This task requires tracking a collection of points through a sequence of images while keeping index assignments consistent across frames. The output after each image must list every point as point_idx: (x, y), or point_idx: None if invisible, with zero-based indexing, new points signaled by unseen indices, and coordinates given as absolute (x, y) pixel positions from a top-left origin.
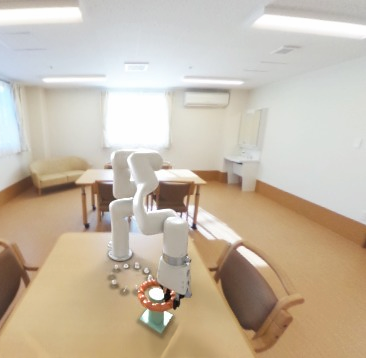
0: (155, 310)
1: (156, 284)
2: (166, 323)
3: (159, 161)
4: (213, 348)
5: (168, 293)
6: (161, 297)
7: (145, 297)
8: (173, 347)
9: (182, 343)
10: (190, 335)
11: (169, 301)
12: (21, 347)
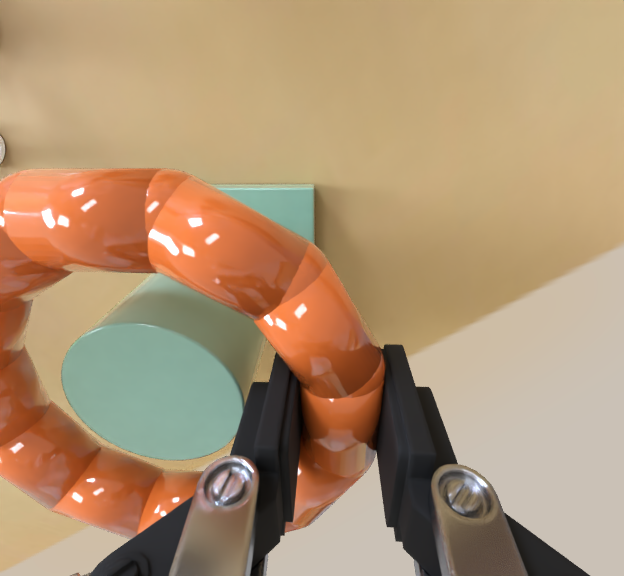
0: None
1: (31, 293)
2: None
3: None
4: (590, 230)
5: (285, 493)
6: (222, 417)
7: (118, 511)
8: (389, 337)
9: (422, 299)
10: (452, 233)
11: (332, 474)
12: (10, 549)
